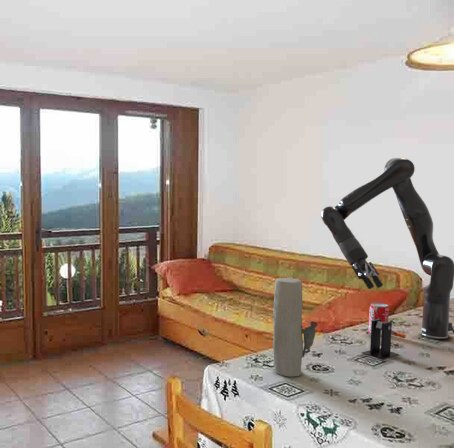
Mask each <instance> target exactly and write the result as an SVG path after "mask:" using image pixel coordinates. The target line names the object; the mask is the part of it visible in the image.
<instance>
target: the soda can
mask: <svg viewBox="0 0 454 448" xmlns="http://www.w3.org/2000/svg"><path fill="white" fill-rule="evenodd" d="M389 315H390V308H389V305H388V304H386V303H382V302H372V303H370V306H369V311H368V330H367V332H368V334H369V335H371V322H372V320H375V319H381V322H383V323H384V322H388V321H389V318H390V317H389ZM381 335H382V330H381Z"/></svg>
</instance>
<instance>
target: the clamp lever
mask: <svg viewBox="0 0 454 448" xmlns="http://www.w3.org/2000/svg"><path fill="white" fill-rule="evenodd" d="M382 323H383V322H380V321H377V324H376V328H378V329H379V330H382ZM391 336H393V337H398V338H402V339H406V337H407V335H406V334H405V333H401V332H397V331H395V330H393V329H392V330H391Z"/></svg>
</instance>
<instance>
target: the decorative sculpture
mask: <svg viewBox="0 0 454 448" xmlns="http://www.w3.org/2000/svg"><path fill="white" fill-rule="evenodd" d="M274 281H275V282H274V295H273V305H272V307H273V308H272V309H273V310H272V318H273V320H272V321H273V324H272V325H273V331H272V332H273V339H272V353H273V355H272V357H273V358H272V359H273V367H274V371H275V372H276V374H278V375H281V376H284V377H291V378H292V377H299V376H301V373H302V361H303V359H304V357H305V354H306V352H310V350H311V347H312V346H313V344H314V341H315V337H316V332H317V331H316V328H317V327H318V322H317V321H313V320H311V321H309V320H305V322H306V323H308V324H309V326H307V327H305V328H303V305H304V303H303V282H302V280H301V279H299V278H293V277H279V278H276V279H275V280H274Z"/></svg>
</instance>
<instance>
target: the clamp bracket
mask: <svg viewBox="0 0 454 448" xmlns="http://www.w3.org/2000/svg"><path fill="white" fill-rule="evenodd" d="M377 321H380V322H381V319H375V320H372V322H371V334H370V343H369V344H370V345H369V346H370V347H369V350H366V351H362V352H361V354H363V355H365V356H370V357H373V358H376V359H379V360H381V361H383V360H386V359H390V358H393V357H397V356H399V355H400V354H399V353H396V352H393V351H392V350H391V347H392V335H391V330H393V329H392V328H393V327H392V326H393V322H392V321H390V320H388V322H384V323H382V335H381V330H379V329H378V328H376V324H377Z"/></svg>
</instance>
